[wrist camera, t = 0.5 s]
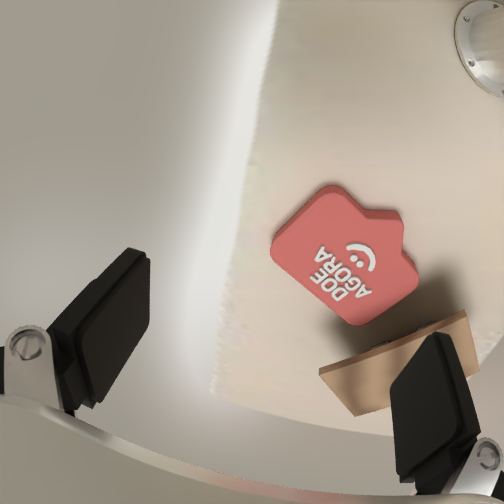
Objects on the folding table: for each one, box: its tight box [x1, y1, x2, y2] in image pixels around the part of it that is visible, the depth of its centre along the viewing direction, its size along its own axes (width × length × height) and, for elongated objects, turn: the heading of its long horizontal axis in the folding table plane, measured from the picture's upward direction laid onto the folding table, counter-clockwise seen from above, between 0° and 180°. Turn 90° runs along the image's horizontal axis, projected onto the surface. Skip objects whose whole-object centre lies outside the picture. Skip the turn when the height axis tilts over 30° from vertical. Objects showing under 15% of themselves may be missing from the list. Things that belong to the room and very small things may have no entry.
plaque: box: [270, 185, 419, 326], centre depth 39 cm, size 18×4×15 cm
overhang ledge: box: [319, 310, 480, 417], centre depth 40 cm, size 20×12×10 cm, turn 126°
